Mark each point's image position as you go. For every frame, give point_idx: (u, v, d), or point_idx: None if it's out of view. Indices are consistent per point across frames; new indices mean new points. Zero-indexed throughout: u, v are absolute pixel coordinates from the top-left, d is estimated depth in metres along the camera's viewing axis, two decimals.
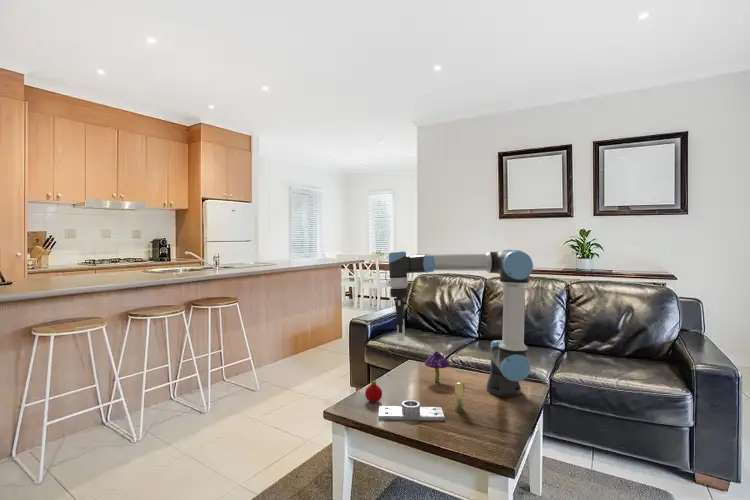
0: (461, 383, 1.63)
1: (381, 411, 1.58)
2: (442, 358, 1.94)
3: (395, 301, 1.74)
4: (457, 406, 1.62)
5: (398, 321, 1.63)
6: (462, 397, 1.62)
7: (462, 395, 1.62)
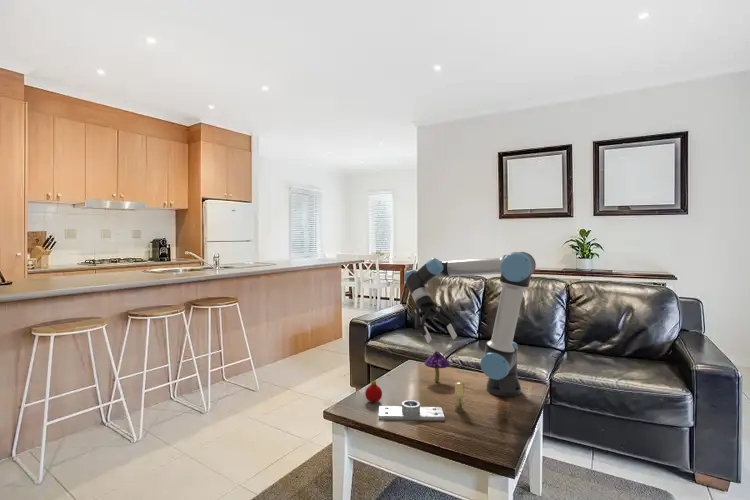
0: (461, 383, 1.63)
1: (381, 411, 1.58)
2: (442, 358, 1.94)
3: None
4: (457, 406, 1.62)
5: (415, 325, 1.73)
6: (462, 397, 1.62)
7: (462, 395, 1.62)
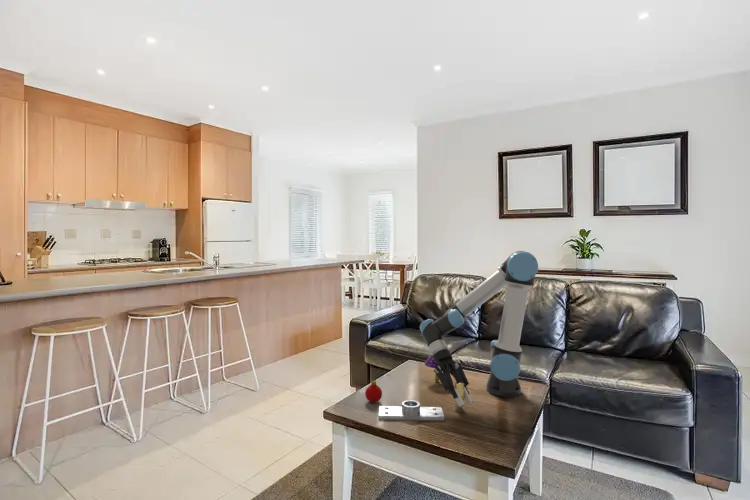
0: (461, 383, 1.63)
1: (381, 411, 1.58)
2: None
3: None
4: (457, 406, 1.62)
5: (445, 387, 1.63)
6: (462, 397, 1.62)
7: (462, 395, 1.62)
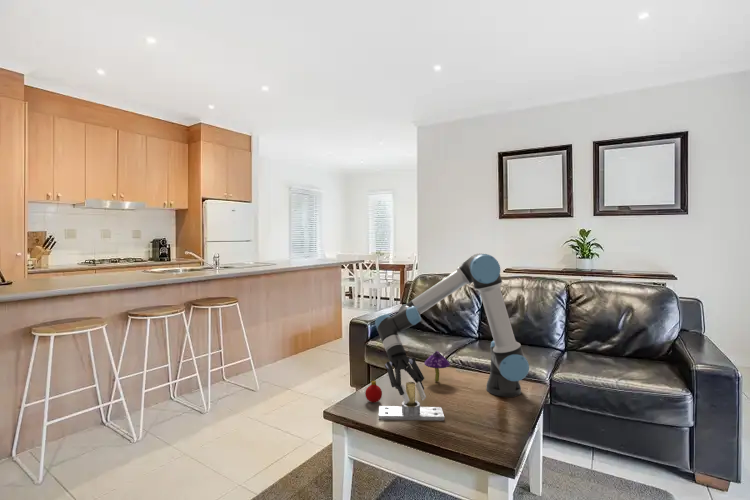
0: (412, 383, 1.58)
1: (381, 411, 1.58)
2: (442, 358, 1.94)
3: None
4: None
5: (392, 384, 1.58)
6: (413, 398, 1.57)
7: (413, 396, 1.57)
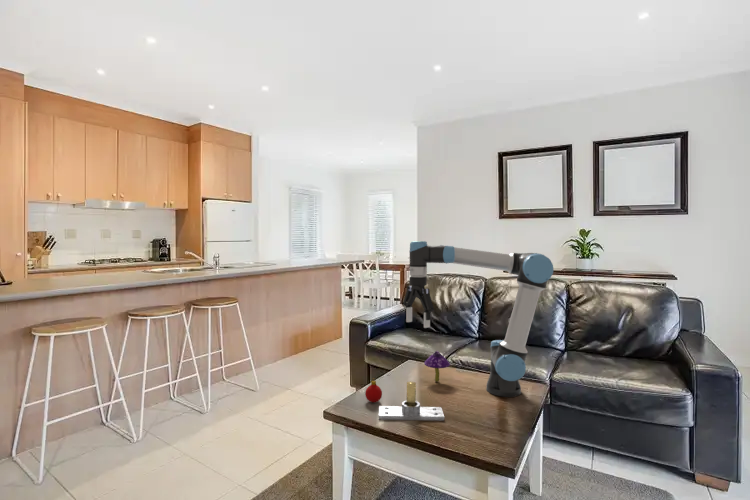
0: (413, 383, 1.59)
1: (381, 411, 1.58)
2: (442, 358, 1.94)
3: (413, 289, 1.77)
4: None
5: (430, 309, 1.68)
6: (413, 397, 1.57)
7: (413, 395, 1.57)
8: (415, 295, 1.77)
